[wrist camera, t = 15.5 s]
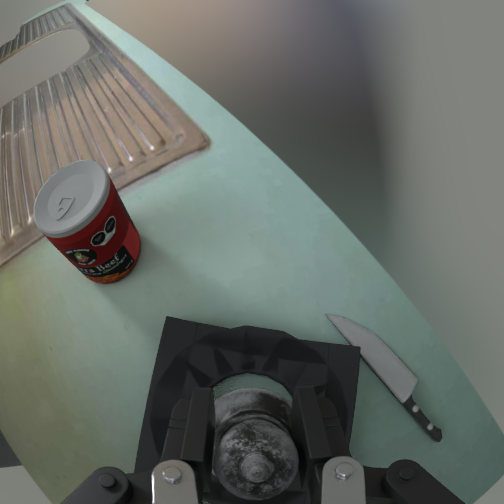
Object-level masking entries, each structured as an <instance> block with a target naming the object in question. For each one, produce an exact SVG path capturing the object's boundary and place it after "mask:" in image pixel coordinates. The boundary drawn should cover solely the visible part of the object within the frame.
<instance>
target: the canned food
mask: <svg viewBox="0 0 504 504" xmlns="http://www.w3.org/2000/svg"><path fill="white" fill-rule="evenodd" d="M33 213H34V220H35V223H36V225H37V226H38V228H39V229H40V231H41V232H42V233H43V234H44V235H45V236H46V237H47V239H48V240H49V241H50V242H51V243H52V244H53V245H54V246H55V247H56V248H57V249H58V250H59V251H60V252H61V253H62V254H63V255H64V256H65V257H66V258H67V259H68V260H69V261H70V262H71V263H72V264H73V265H74V266H75V267H76V268H77V269H78V270H79V271H81V272H82V273H83V274H84V275H85V276H86V277H87V278H89V279H90V280H92V281H95V282H98V283H112V282H115V281H118V280H119V279H121V278H123V277H124V276H125V275H127V274H128V273H129V272H130V270H131V269H132V268H133V267H134V265H135V263H136V261H137V259H138V256H139V252H140V239H139V234H138V232H137V229H136V227H135V226H134V224H133V222H132V220H131V218H130V216H129V214H128V212H127V210H126V208H125V206H124V204H123V202H122V200H121V198H120V196H119V194H118V192H117V190H116V188H115V186H114V184H113V182H112V180H111V179H110V177H109V175H108V173H107V171H106V170H105V169H104V167H103V166H102V165H101V164H100V163H99V162H96V161H94V160H79V161H75V162H72V163H70V164H68V165H66V166H64V167H62V168H61V169H59V170H58V171H57V172H55V173H54V174H53V175H52V176H51V177H50V178H49V179H48V180H47V181H46V183H45V184H44V185H43V187H42V188H41V190H40V191H39V194H38V196H37V198H36V201H35V204H34V211H33Z"/></svg>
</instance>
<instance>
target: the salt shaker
mask: <svg viewBox="0 0 504 504" xmlns="http://www.w3.org/2000/svg"><path fill="white" fill-rule="evenodd" d="M214 404H215V414H216V427H215V439H214V451H213V463H212V473H213V474H214V475H215V476H217V478H218V480H219V482H220V483H221V484H222V485H223V486H224V487H225V488H226V490H227V491H229V492H230V493H232V494H234V495H235V496H237V497H240V498H243V499H246V500H264V499H269V498H272V497H274V496H277V495H279V494H280V493H282V492H283V491H284V490H286V489H287V488H288V487H289V485H290V484H291V483H292V482H293V480H294V478H295V476H296V473H297V471H298V465H299V456H298V451H297V448H296V446H295V444H294V439H293V432H292V426H291V410H292V403H291V402H290V401H289V400H287V399H286V398H284V397H283V396H281V395H280V394H278V393H275V392H272V391H269V390H266V389H260V388H244V389H238V390H234V391H232V392H229V393H227V394H224V395H222V396H221V397H219V398H218V399H217V400H215V401H214Z"/></svg>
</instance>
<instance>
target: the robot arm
mask: <svg viewBox="0 0 504 504" xmlns="http://www.w3.org/2000/svg"><path fill="white" fill-rule="evenodd" d="M291 426H292V432H293V439H294V444H295V446H296V448H297V451H298V456H299V465H298V471H299V477H300V484H301V490H309V492H310V498H311V504H465V503H464V502H463V501H462V500H460V499H459V498H458V497H457V496H455V495H454V494H453V493H452V492H451V491H449V490H448V489H447V488H446V487H445V486H443V485H442V484H441V483H440V482H439V481H438V480H436V479H435V478H434V477H433V476H432V475H431V474H429V473H428V472H427V471H426V470H425V469H424V468H422V467H421V466H420V465H419V464H418V463H416V462H414V461H412V460H405V459H404V460H398V461H396V462H394V463H392V464H391V465H390V466H389V468H372V467H366V466H363V465H362V464H361V463H360V462H359V461H358V460H356V459H355V458H352V456H351V454H350V451H349V448H348V445H347V442H346V438H345V435H344V432H343V429H342V426H341V423H340V420H339V417H338V413H337V410H336V407H335V405H334V404H333V403H332V402H331V401H330V400H329V399H328V398H327V397H323V398H317V395H316V391H315V388H314V386H301V387H295V388H294V394H293V402H292V410H291ZM215 427H216V414H215V404H214V394H213V388H198V387H194V388H193V392H192V398H191V400H185V399H180V400H179V401H178V403H177V404H176V405H175V406H174V407H173V410H172V414H171V420H170V422H169V428H168V430H167V435H166V439H165V443H164V447H163V452H162V456H161V459H160V461H159V463H158V464H157V465H156V466H155V467H154V468H152V469H151V470H148V471H145V472H141V473H131V474H125V473H124V472H123V471H121V470H120V469H118V468H115V467H102V468H99V469H97V470H95V471H94V472H93V473H92V474H91V475H90V476H89V477H88V478H87V479H86V480H85V481H84V482H83V483H82V484H81V485H80V486H79V487H78V488H77V489H75V490H74V491H73V492H72V493H71V494H70V495H69V496H68V497H67V498H66V499H65V500H64V501H63V502H62V503H61V504H203V502H202V499H203V492H210V488H211V475H212V463H213V451H214V439H215Z"/></svg>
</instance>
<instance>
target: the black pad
mask: <svg viewBox="0 0 504 504" xmlns="http://www.w3.org/2000/svg"><path fill="white" fill-rule="evenodd" d="M360 351H361V347H360V346H351V345H341V344H332V343H324V342H316V341H308V340H300V339H297V338H295V337H293V336H291V335H290V334H288V333H286V332H284V331H279V330H272V329H265V328H259V327H253V326H241V327H236V328H231V329H229V328H224V327H218V326H213V325H208V324H202V323H197V322H192V321H187V320H182V319H178V318H173V317H168V316H166V320H165V324H164V328H163V332H162V336H161V340H160V345H159V349H158V353H157V357H156V362H155V366H154V371H153V375H152V380H151V384H150V389H149V394H148V399H147V404H146V409H145V414H144V419H143V424H142V429H141V435H140V440H139V446H138V452H137V458H136V464H135V470H134V473H141V472H145V471H148V470H151V469H152V468H154V467H155V466H156V465H157V464H158V463H159V461H160V459H161V456H162V452H163V447H164V443H165V439H166V435H167V430H168V428H169V422H170V420H171V414H172V410H173V407H174V406H175V405H176V404H177V403H178V401H179V400H180V399H185V400H191V398H192V392H193V388H194V387H198V388H212V387H214V386H215V385H217V384H218V383H220V382H221V381H223V380H224V379H226V378H227V377H230V376H235V375H240V374H245V373H251V374H257V375H264V376H268V377H270V378H271V379H273V380H275V381H277V382H278V383H280V384H282V385H284V387H285V388H286V389H287V391H288V392H289V393H290V394H291V396H292V397H293V394H294V388H295V387H301V386H314V388H315V391H316V395H317V398H323V397H327V398H328V399H329V400H330V401H331V402H332V403H333V404H334V405H335V407H336V410H337V413H338V417H339V420H340V423H341V426H342V429H343V432H344V435H345V438H346V442H347V445H348V448H349V443H350V437H351V430H352V424H353V417H354V409H355V401H356V393H357V384H358V374H359V363H360ZM203 500H205V501H207V502H208V503H210V504H311V498H310V492H309V490H301V484H300V477H299V471H297V473H296V476H295V478H294V480H293V482H292V483H291V484H290V485H289V487H288V488H287V489H286V490H284V491H283V492H282V493H280V494H279V495H277V496H274V497H272V498H269V499H264V500H246V499H243V498H240V497H237V496H235V495H234V494H232V493H230V492H229V491H227V490H226V488H225V487H224V486H223V485H222V484H221V483H220V482H219V480H218V478H217V476H215V475H214V474H213V473H212V475H211V488H210V492H203Z"/></svg>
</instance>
